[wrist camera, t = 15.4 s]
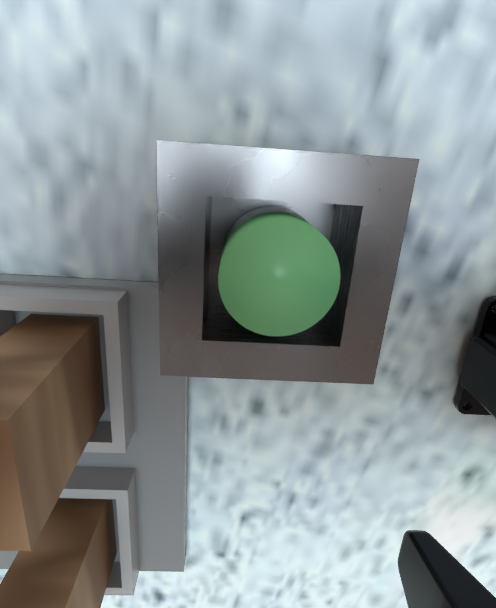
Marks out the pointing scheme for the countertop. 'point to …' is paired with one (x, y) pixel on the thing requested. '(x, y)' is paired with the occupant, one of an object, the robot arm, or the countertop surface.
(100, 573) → the billet
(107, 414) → the grey socket board
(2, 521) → the billet
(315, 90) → the countertop surface
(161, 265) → the button box
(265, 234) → the button
